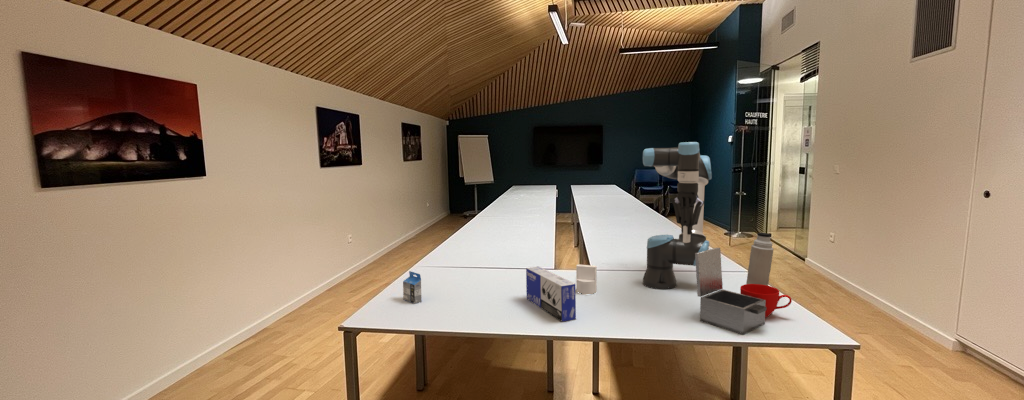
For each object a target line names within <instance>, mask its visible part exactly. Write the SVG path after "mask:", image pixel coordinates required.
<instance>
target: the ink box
mask: <svg viewBox="0 0 1024 400" xmlns="http://www.w3.org/2000/svg"><path fill="white" fill-rule="evenodd" d="M525 271H526V272H525V273H526V274H525V276H526V277H525V279H526V281H525V282H526V283H525V284H526V285H525V286H526V290H525V291H526V300H528V299H529V300H530V301H529V300H528V301H529V302H531V301H532V302H533V303H532V302H531V303H532V304H534V303H535V304H536V306H537V307H538V306H539V307H538V308H540V309H541V310H543V311H545V312H546V313H548V314H550V315H551V316H552V317H553V318H556V319H558V320H559V321H560V322H567V321H572V320H577V319H576V318H577V314H576V313H577V312H576V311H577V309H576V304H577V302H576V301H577V300H576V299H577V298H576V296H577V295H576V293H577V292H576V282H573V281H570V280H568V279H566V278H564V277H562V276H560V275H558V274H556V273H553V272H551V271H549V270H547V269H546V268H543V267H541V266H532V267H526V268H525ZM535 304H534V305H535Z"/></svg>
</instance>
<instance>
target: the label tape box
mask: <svg viewBox="0 0 1024 400" xmlns="http://www.w3.org/2000/svg"><path fill="white" fill-rule="evenodd" d="M408 273H409V276H408V277H407V278H405V279H404V280H403V281H402V287H403V288H402V291H403V293H402V296H403V297H402V299H403V301H405V302H410V303H412V304H419V302H420V303H422V301H423V300H422V278H421V274H420V273H417V272H414V271H410V270H409V271H408Z"/></svg>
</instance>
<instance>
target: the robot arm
mask: <svg viewBox="0 0 1024 400" xmlns="http://www.w3.org/2000/svg"><path fill="white" fill-rule="evenodd" d="M642 164H643V166H644V167H654V168H655V171H656V172H657V173H658V174H659V176H660V175H661V176H662V177H665V178H668V179H672V180H677V181H678V183H677V185H676V186H677V187H676V188H677V195H676V197H675V198H672V199H671V204H672V205H673V210H674V214H675V220H676V224H679V225H680V226H681V231H680V233H679V235H678V238H675V237H674V235H672V234H659V235H653V236H652V235H651V236H650V237H648V239H647V241H646V269H645V272H644V275H643V277H642V285H644V286H645V285H646V286H645V287H647V286H648V287H647V288H651V287H652V289H656V288H657V290H668V289H669V290H670V289H671V290H672V289H674V288H676V287H677V286H678V285H677V281H678V280H677V279H676V275H675V272H674V265H681V266H693V267H696V260H695V253H699V252H702V251H706V250H710V241H709V240H708V239H707V236H706V235H705V234H704V210H705V209H704V207H705V186H706V185H708V184H709V181H710V180H712V177H713V176H712V175H713V173H712V165H711V158H710V157H709V156H708V155H702V154H701V153H700V143H699V142H697V141H688V142H687V141H685V142H684V141H683V142H679V143H678V146H677V147H649V148H645V149H644V150H643V151H642Z"/></svg>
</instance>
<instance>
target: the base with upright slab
mask: <svg viewBox="0 0 1024 400" xmlns="http://www.w3.org/2000/svg"><path fill="white" fill-rule="evenodd" d="M575 266H576V269H575V271H576V272H575V274H576V277H575V279H576V282H575V292H576V291H577V292H579V293H582V294H593V293H596V292H597V290H598V289H597V288H598V287H597V286H598V285H597V283H598V282H597V279H598V277H597V276H598V273H597V268H598V266H597V265H591V264H579V263H578V264H576V265H575ZM577 292H576V293H577ZM579 293H578V294H579ZM597 293H598V292H597ZM597 293H596V294H597ZM582 294H581V295H582ZM593 295H594V294H593Z"/></svg>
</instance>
